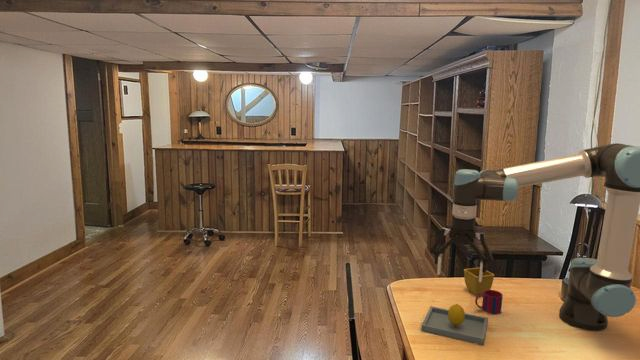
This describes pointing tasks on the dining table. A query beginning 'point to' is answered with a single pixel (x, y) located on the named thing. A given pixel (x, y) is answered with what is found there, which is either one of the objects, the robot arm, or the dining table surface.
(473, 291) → the flower pot
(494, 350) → the dining table surface
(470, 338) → the tray
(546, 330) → the dining table surface
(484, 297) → the mug
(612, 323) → the dining table surface
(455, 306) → the lemon
